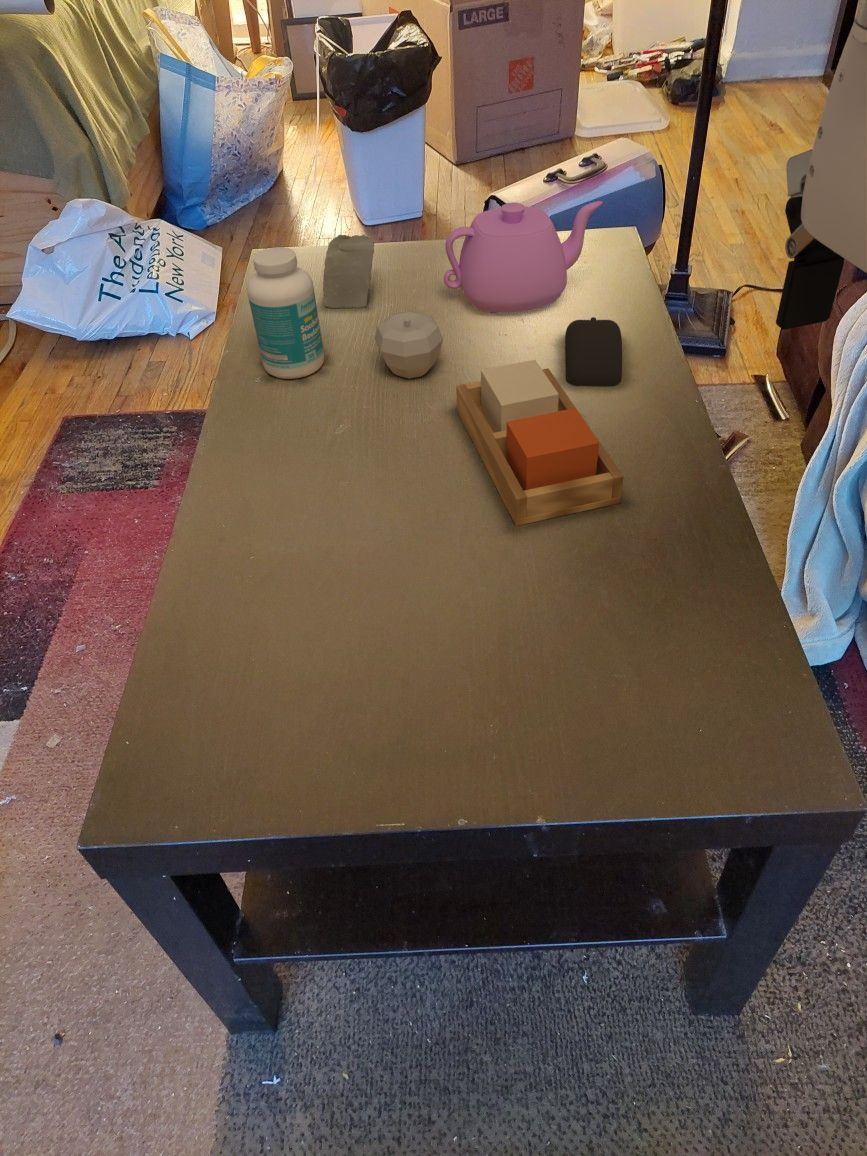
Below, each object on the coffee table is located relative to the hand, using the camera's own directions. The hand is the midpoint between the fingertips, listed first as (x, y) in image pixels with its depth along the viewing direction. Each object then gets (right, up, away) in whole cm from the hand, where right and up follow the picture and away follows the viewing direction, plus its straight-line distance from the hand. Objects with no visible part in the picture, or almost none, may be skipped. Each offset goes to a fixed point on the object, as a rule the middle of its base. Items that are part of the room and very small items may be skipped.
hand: (850, 362), depth 47 cm
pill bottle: (-40, +14, +55) cm, 69 cm away
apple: (-26, +12, +52) cm, 60 cm away
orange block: (-12, -2, +36) cm, 37 cm away
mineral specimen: (-34, +26, +67) cm, 79 cm away
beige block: (-14, +5, +42) cm, 45 cm away
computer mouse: (-5, +14, +52) cm, 54 cm away
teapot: (-12, +25, +64) cm, 70 cm away
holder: (-13, +1, +40) cm, 42 cm away
